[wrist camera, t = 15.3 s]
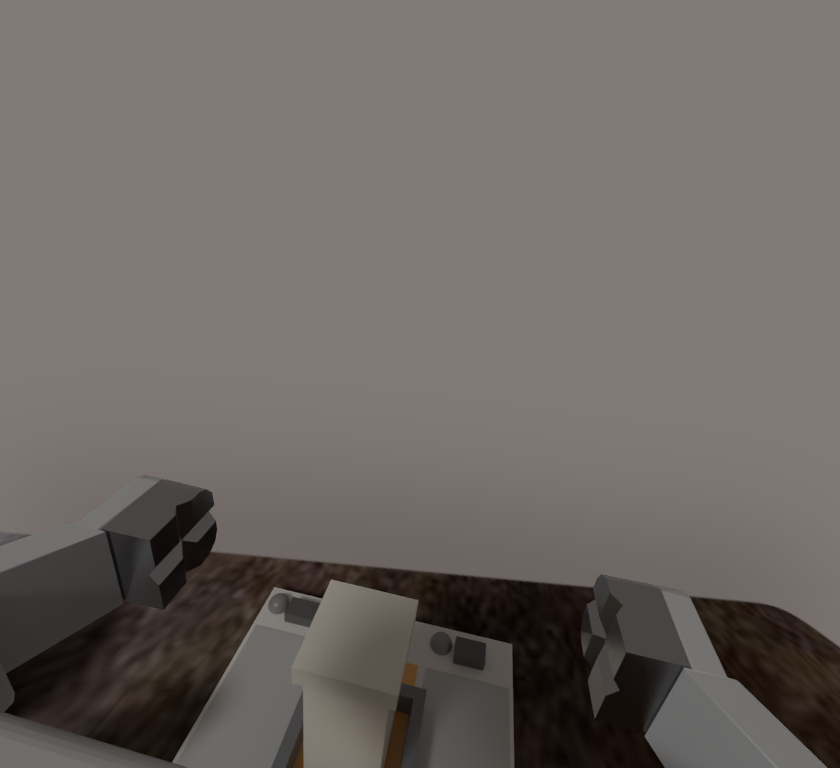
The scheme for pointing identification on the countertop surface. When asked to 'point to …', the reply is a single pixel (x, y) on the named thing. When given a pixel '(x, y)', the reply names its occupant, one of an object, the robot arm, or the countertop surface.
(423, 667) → the board
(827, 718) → the countertop surface
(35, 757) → the robot arm
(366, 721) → the plug
